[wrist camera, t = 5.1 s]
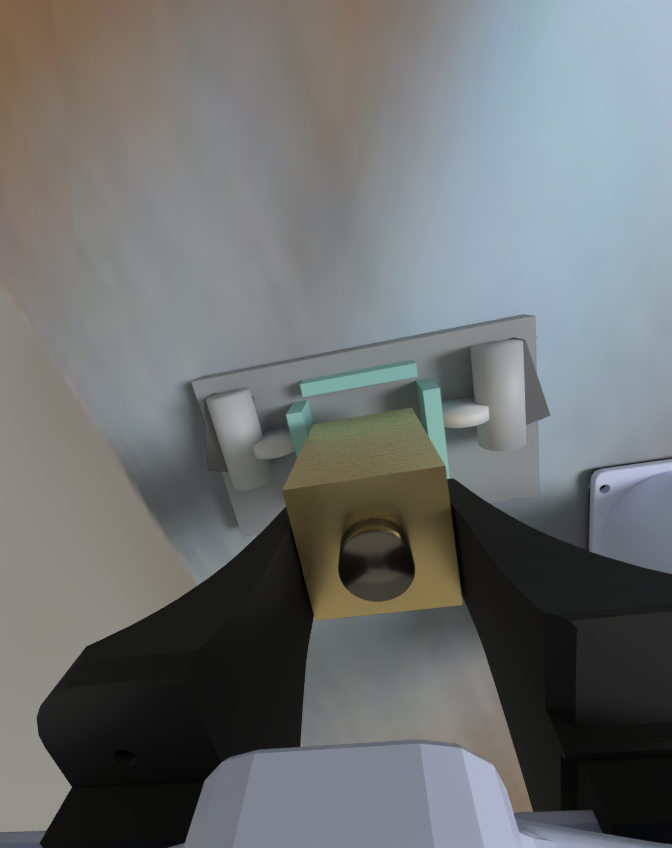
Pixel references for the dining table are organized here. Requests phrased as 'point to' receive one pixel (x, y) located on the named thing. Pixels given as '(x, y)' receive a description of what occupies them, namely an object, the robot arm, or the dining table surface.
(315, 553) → the coupling block
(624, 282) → the dining table surface
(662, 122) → the dining table surface
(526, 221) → the dining table surface
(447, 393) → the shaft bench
